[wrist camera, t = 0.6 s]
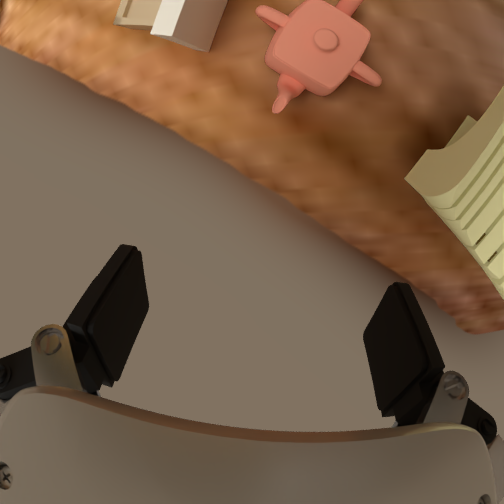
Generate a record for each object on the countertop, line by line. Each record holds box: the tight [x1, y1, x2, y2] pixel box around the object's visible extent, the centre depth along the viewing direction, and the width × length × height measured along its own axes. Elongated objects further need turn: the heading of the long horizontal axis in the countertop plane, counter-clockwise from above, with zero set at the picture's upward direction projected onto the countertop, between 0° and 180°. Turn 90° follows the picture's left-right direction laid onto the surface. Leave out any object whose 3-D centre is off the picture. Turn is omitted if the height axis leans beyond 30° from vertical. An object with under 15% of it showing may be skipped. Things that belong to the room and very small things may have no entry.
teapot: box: [255, 0, 382, 114], centre depth 23 cm, size 14×12×10 cm
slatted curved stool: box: [404, 85, 504, 299], centre depth 26 cm, size 30×16×18 cm, turn 58°
